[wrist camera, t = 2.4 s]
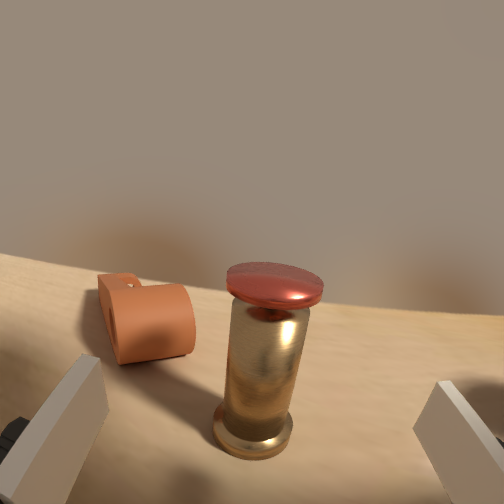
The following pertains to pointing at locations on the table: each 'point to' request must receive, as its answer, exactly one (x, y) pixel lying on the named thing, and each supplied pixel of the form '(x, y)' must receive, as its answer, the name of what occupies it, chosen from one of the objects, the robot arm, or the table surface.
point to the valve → (263, 356)
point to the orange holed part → (146, 318)
